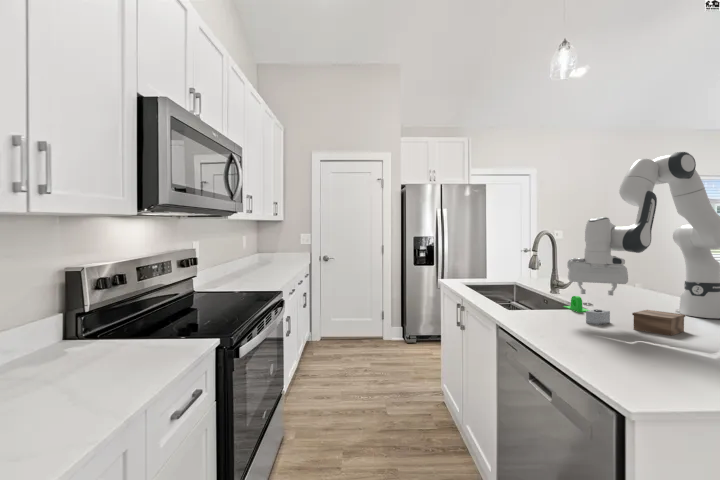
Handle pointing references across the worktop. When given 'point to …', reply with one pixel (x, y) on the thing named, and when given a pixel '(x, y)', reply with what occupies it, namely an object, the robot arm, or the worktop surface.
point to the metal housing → (597, 317)
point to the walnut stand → (659, 322)
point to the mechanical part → (576, 304)
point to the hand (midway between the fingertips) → (596, 294)
